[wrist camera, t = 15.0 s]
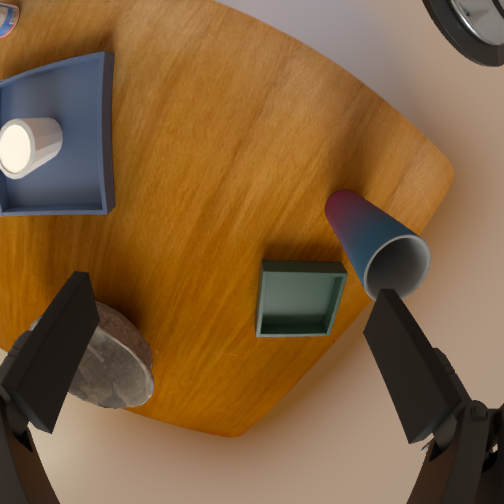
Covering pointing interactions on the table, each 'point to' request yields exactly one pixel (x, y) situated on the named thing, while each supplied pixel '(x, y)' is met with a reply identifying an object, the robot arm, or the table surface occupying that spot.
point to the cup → (378, 245)
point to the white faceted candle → (28, 145)
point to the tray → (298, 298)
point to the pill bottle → (8, 18)
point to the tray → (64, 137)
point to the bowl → (114, 364)
